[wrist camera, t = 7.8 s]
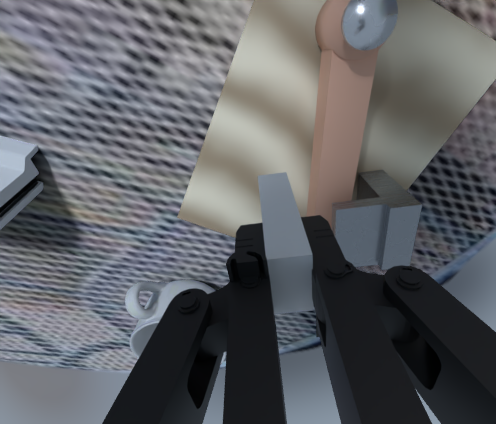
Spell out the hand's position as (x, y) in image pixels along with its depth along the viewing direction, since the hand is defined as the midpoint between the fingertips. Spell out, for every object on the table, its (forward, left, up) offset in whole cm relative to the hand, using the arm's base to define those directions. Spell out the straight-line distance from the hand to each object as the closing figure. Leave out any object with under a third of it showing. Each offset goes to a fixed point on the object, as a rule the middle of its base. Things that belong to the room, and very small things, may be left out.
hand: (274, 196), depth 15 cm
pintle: (-10, +2, -8) cm, 13 cm away
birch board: (-1, +6, -13) cm, 14 cm away
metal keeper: (+3, +11, -12) cm, 17 cm away
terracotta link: (-2, +6, -12) cm, 14 cm away
